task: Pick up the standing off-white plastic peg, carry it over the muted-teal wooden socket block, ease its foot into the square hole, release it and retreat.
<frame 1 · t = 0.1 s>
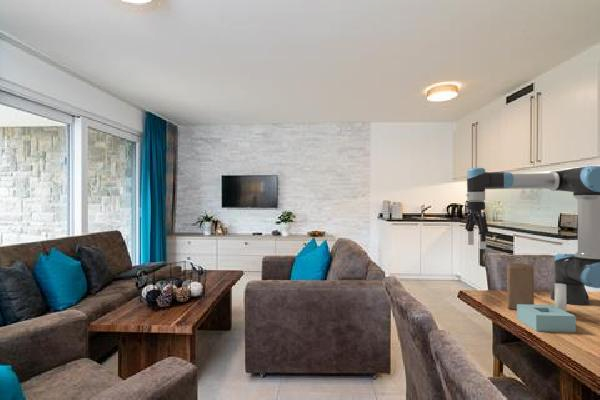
hand: (476, 246, 164), 28 cm above the table, fingers open, 13 cm apart
socket: (544, 324, 140), on the table
peg: (560, 317, 148), on the table
wooden block: (520, 308, 161), on the table
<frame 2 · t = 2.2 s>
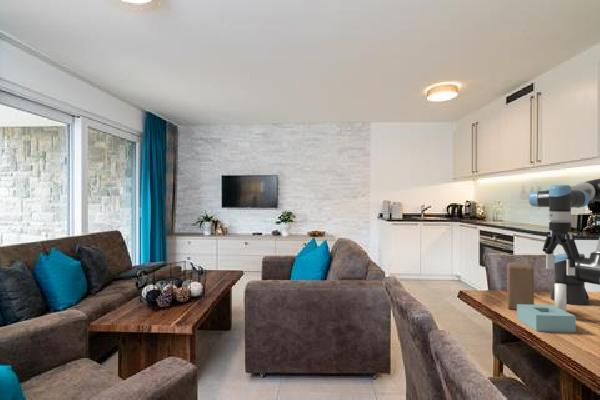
hand: (559, 271, 148), 19 cm above the table, fingers open, 13 cm apart
nothing on the table moved.
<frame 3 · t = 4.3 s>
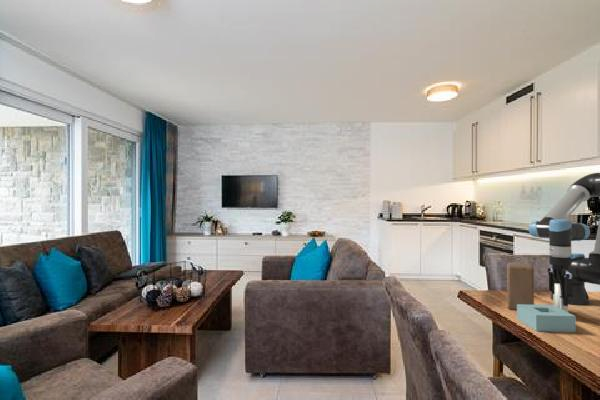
hand: (560, 311, 148), 3 cm above the table, fingers closed on peg, 4 cm apart
peg: (560, 317, 148), on the table, touching gripper
everything else where it was.
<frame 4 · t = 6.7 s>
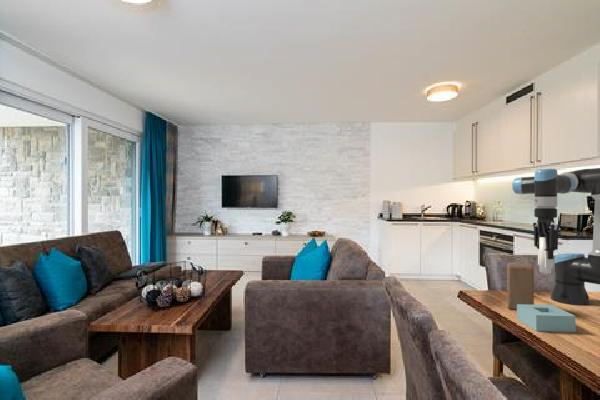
hand: (545, 266, 140), 23 cm above the table, fingers closed on peg, 4 cm apart
peg: (545, 272, 140), point 21 cm above the table, touching gripper
everything else where it was.
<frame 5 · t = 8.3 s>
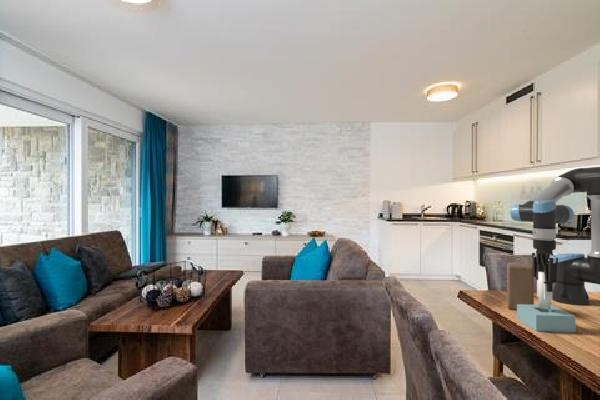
hand: (544, 297, 140), 11 cm above the table, fingers closed on peg, 4 cm apart
peg: (544, 307, 140), point 7 cm above the table, touching gripper
everything else where it was.
when the fingers open (7 cm above the table, at t = 9.5 s): peg drops 1 cm, resting on socket.
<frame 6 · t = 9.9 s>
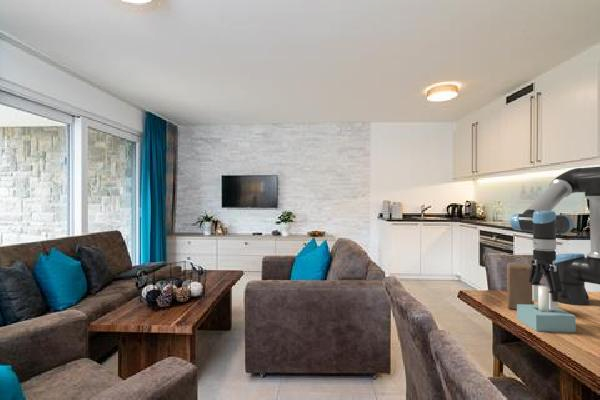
hand: (544, 305, 140), 8 cm above the table, fingers open, 10 cm apart
peg: (544, 322, 140), point 1 cm above the table, touching socket
everything else where it was.
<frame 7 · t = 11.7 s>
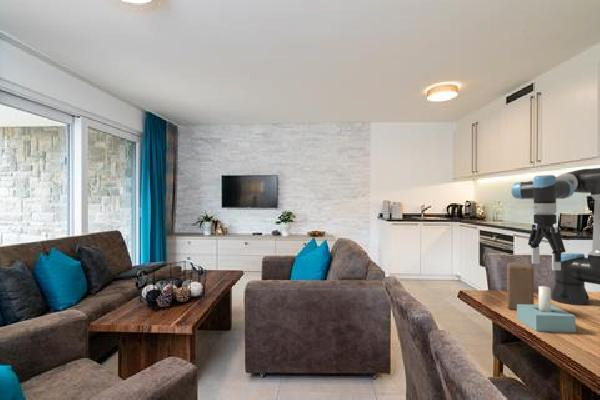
hand: (545, 266, 141), 23 cm above the table, fingers open, 13 cm apart
nothing on the table moved.
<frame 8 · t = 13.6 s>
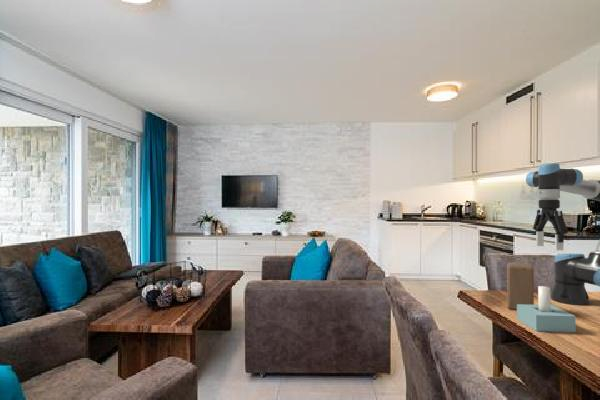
hand: (549, 248, 153), 29 cm above the table, fingers open, 13 cm apart
nothing on the table moved.
at the end: peg 0.0 cm off-centre on the socket, point 1.0 cm above the socket's base; peg tilted 1°; the gripper is holding nothing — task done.
